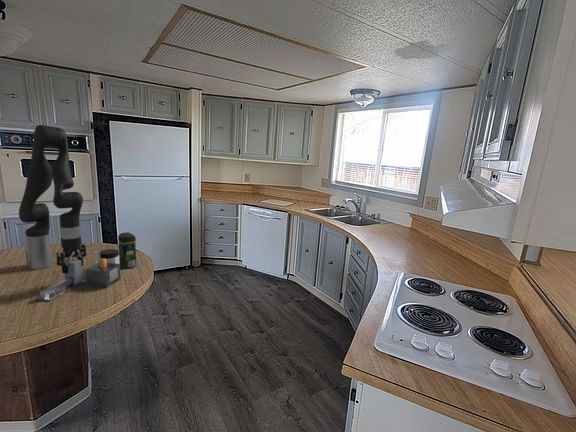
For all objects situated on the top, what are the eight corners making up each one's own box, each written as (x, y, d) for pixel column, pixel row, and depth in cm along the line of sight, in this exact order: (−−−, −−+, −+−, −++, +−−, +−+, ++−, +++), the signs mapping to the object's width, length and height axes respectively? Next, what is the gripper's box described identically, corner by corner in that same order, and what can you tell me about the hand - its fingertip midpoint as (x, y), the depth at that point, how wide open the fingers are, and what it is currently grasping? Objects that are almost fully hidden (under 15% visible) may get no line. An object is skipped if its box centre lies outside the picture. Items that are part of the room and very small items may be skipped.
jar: (99, 278, 147) (98, 254, 145) (99, 272, 154) (98, 250, 151) (120, 275, 152) (119, 252, 150) (119, 269, 159) (118, 248, 156)
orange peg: (98, 276, 141) (98, 260, 139) (102, 274, 144) (102, 258, 142) (104, 276, 141) (103, 260, 139) (108, 274, 143) (107, 258, 142)
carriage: (65, 283, 137) (63, 262, 135) (72, 280, 141) (70, 259, 139) (75, 284, 136) (74, 263, 134) (82, 281, 140) (81, 260, 138)
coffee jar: (117, 264, 165) (116, 232, 162) (133, 262, 171) (132, 230, 167) (122, 270, 158) (121, 236, 155) (138, 267, 164) (137, 234, 160)
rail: (36, 299, 123) (35, 290, 122) (75, 279, 143) (75, 271, 142) (49, 301, 122) (48, 292, 121) (87, 281, 143) (86, 273, 142)
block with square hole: (86, 285, 138) (85, 269, 137) (101, 277, 148) (100, 262, 146) (107, 287, 138) (106, 271, 136) (120, 279, 147) (120, 264, 146)
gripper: (75, 231, 141) (77, 263, 144) (49, 239, 127) (52, 274, 130) (90, 232, 141) (91, 265, 144) (65, 241, 127) (68, 276, 130)
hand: (73, 269), depth 137 cm, fingers open, 8 cm apart
